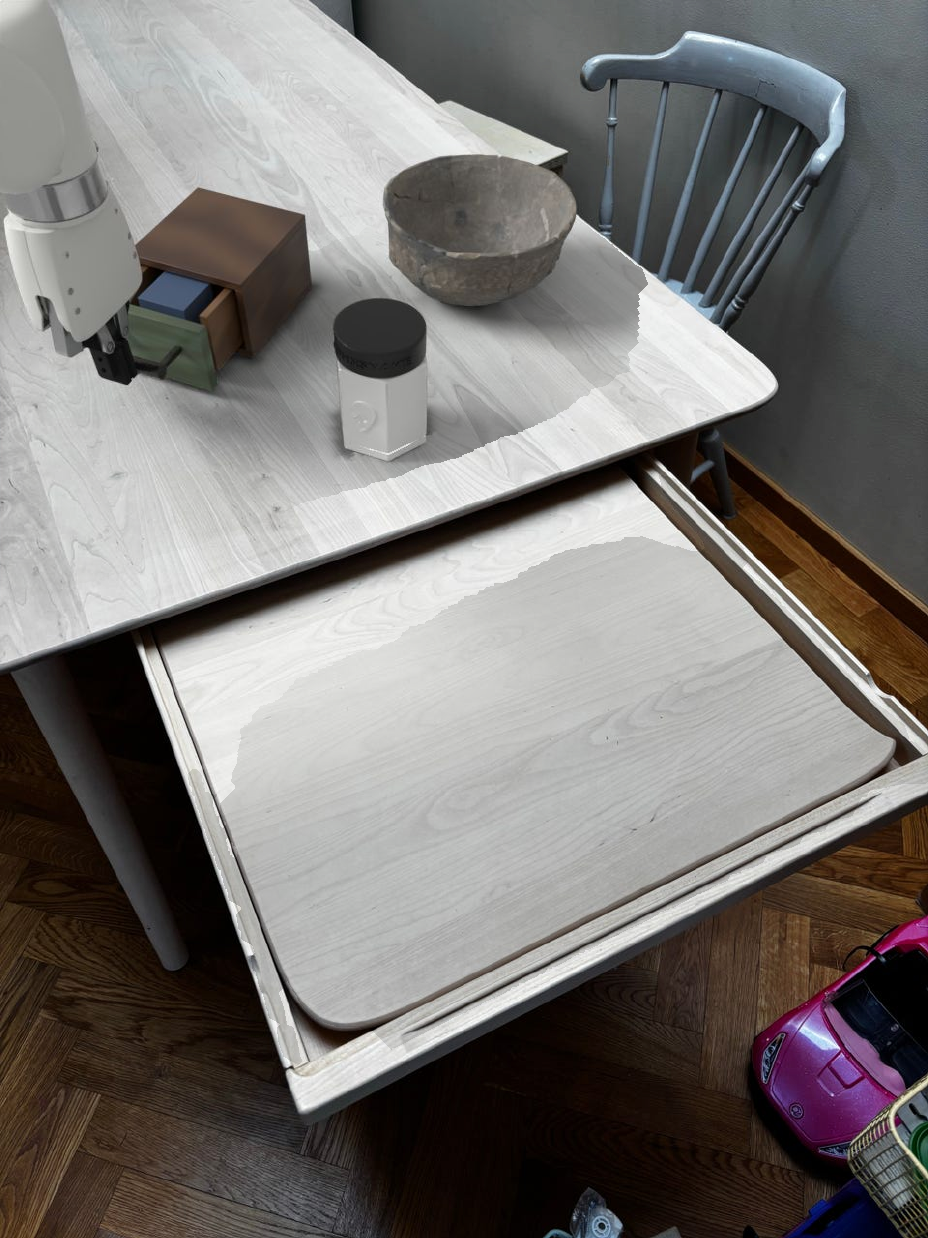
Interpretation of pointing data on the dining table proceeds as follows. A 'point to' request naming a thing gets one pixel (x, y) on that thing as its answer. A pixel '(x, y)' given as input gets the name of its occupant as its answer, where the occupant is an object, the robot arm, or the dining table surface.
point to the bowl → (477, 226)
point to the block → (177, 296)
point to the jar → (381, 376)
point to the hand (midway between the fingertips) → (119, 376)
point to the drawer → (184, 337)
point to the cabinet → (237, 256)
